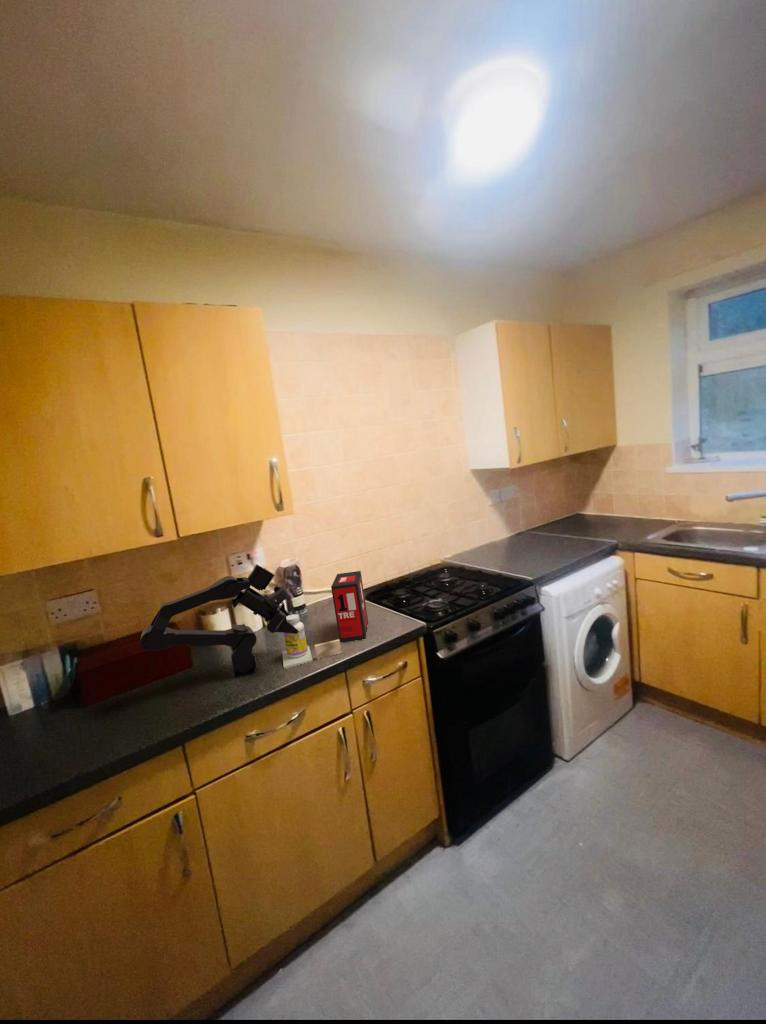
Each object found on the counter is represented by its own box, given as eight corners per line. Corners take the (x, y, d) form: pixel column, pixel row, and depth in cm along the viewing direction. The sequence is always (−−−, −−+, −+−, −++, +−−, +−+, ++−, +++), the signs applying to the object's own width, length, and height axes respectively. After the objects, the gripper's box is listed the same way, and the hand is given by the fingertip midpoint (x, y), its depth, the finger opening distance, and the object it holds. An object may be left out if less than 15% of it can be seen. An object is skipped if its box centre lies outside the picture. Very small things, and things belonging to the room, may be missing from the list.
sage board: (284, 669, 137) (283, 666, 137) (282, 653, 149) (282, 651, 149) (312, 661, 139) (312, 659, 139) (309, 647, 151) (308, 645, 151)
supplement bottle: (283, 657, 144) (276, 620, 142) (296, 648, 149) (290, 612, 148) (299, 659, 140) (293, 621, 139) (312, 650, 146) (306, 613, 145)
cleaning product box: (345, 624, 168) (337, 573, 165) (368, 621, 167) (360, 570, 165) (340, 642, 151) (331, 586, 149) (365, 639, 151) (357, 583, 149)
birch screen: (317, 659, 140) (315, 646, 140) (316, 658, 142) (314, 645, 141) (341, 653, 142) (339, 640, 142) (341, 652, 144) (339, 639, 143)
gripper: (271, 588, 132) (314, 615, 135) (271, 574, 150) (308, 599, 153) (249, 619, 131) (292, 646, 135) (251, 602, 149) (289, 625, 153)
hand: (296, 627), depth 144 cm, fingers open, 9 cm apart
